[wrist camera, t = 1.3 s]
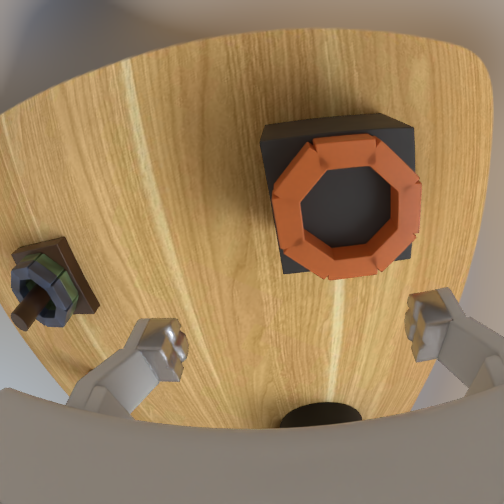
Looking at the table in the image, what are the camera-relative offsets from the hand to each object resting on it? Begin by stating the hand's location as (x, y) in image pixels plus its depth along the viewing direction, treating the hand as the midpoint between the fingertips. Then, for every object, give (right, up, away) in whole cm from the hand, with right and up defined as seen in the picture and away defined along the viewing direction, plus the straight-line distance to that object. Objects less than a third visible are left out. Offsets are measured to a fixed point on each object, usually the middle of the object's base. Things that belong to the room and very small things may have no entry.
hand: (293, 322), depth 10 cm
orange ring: (+4, +5, +6) cm, 9 cm away
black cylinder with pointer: (+9, -26, +32) cm, 42 cm away
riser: (+4, +8, +11) cm, 15 cm away
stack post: (-24, 0, +20) cm, 31 cm away
